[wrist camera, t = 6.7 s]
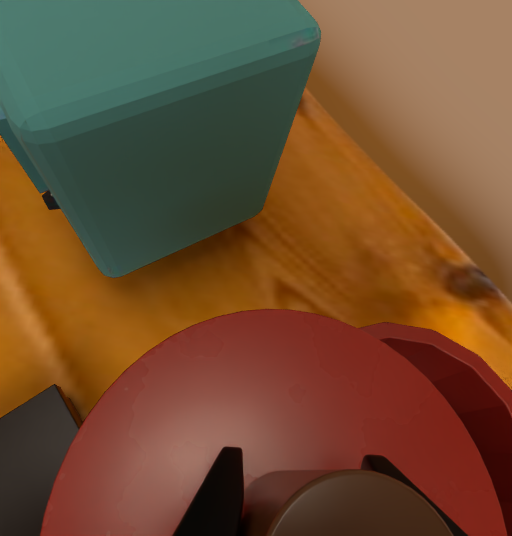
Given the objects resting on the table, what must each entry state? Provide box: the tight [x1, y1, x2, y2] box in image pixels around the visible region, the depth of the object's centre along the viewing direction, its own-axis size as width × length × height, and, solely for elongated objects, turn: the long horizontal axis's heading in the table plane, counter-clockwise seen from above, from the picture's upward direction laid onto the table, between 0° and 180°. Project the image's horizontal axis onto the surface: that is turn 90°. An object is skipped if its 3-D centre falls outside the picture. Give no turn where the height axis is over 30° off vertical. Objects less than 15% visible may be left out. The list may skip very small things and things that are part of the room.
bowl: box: [358, 322, 512, 536], centre depth 19 cm, size 11×11×6 cm
